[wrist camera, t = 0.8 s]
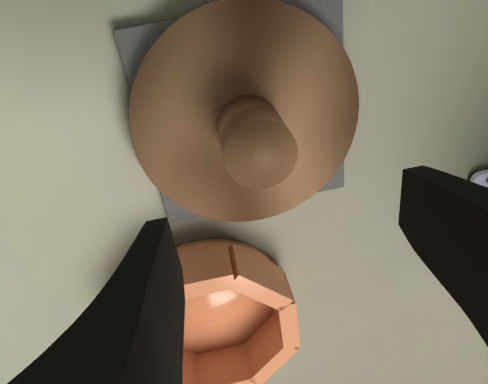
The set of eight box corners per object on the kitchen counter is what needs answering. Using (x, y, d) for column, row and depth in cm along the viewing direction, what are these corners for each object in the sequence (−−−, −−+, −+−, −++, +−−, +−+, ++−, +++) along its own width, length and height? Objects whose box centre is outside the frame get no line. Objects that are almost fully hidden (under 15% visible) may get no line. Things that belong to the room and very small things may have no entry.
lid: (353, -24, 17) (402, -21, 13) (351, 192, 23) (386, 237, 19) (97, 19, 16) (74, 36, 13) (162, 230, 22) (160, 284, 18)
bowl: (276, 224, 23) (291, 262, 20) (289, 333, 29) (302, 376, 26) (109, 258, 23) (99, 302, 20) (154, 363, 28) (151, 411, 25)
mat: (338, -10, 17) (342, -9, 17) (340, 182, 23) (343, 186, 22) (114, 29, 17) (113, 30, 16) (169, 216, 22) (169, 222, 22)
